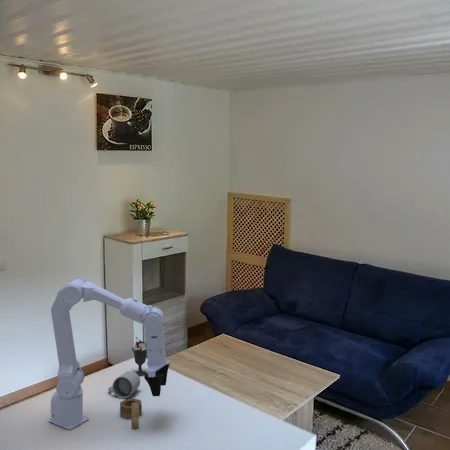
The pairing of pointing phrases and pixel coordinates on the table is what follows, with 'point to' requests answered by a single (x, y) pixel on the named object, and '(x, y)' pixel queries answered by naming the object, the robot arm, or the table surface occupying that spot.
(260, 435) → the table surface
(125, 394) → the ceramic mug
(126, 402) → the bead
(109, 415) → the table surface
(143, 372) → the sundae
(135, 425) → the dowel
